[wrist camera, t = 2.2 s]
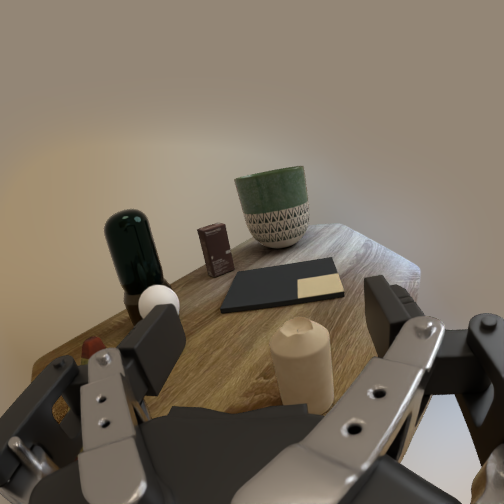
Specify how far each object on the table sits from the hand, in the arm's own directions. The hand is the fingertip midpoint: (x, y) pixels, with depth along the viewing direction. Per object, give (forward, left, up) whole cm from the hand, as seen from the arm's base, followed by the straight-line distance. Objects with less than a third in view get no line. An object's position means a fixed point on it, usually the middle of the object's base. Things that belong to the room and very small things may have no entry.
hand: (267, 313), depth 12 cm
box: (+20, -57, -18) cm, 63 cm away
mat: (+4, -44, -18) cm, 48 cm away
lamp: (+28, -34, -18) cm, 48 cm away
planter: (+5, -72, -18) cm, 74 cm away
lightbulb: (+20, -24, -18) cm, 36 cm away
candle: (0, -12, -18) cm, 22 cm away
